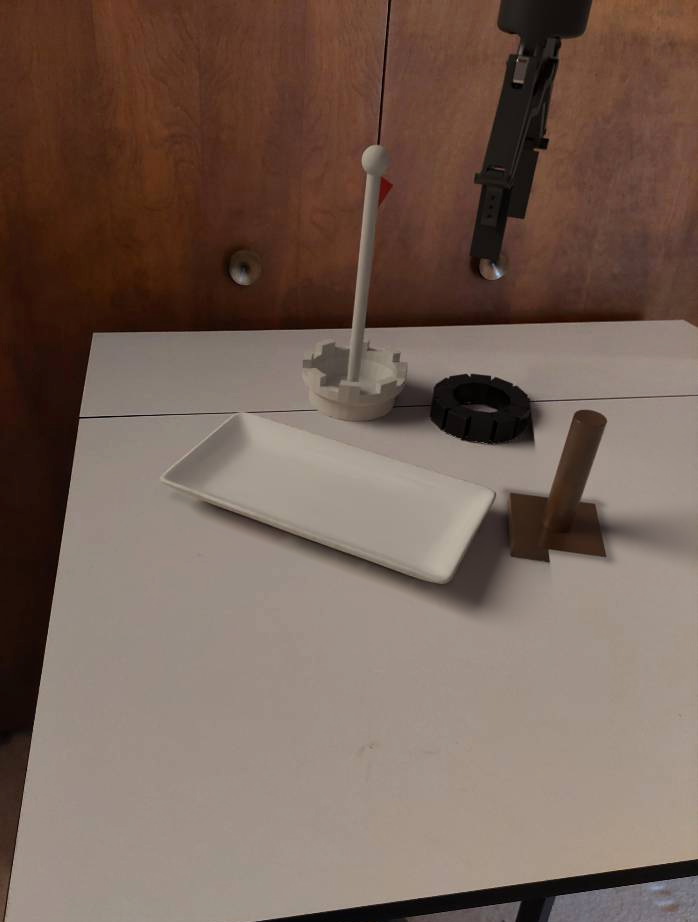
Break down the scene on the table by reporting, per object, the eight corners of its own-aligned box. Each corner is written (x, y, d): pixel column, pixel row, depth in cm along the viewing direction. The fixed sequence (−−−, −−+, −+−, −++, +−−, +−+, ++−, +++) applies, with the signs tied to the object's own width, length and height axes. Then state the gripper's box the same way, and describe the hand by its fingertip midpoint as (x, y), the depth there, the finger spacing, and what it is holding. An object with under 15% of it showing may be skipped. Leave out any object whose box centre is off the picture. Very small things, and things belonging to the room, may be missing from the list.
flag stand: (373, 436, 96) (406, 170, 77) (281, 404, 101) (291, 146, 82) (418, 393, 105) (459, 144, 85) (332, 365, 110) (352, 123, 90)
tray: (238, 431, 95) (238, 405, 93) (494, 514, 85) (501, 487, 83) (156, 505, 84) (154, 478, 81) (441, 611, 73) (448, 584, 71)
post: (591, 514, 86) (632, 399, 77) (602, 569, 79) (649, 450, 70) (506, 503, 87) (537, 388, 78) (510, 556, 80) (544, 437, 71)
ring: (522, 400, 104) (527, 379, 102) (527, 449, 95) (533, 427, 93) (431, 389, 105) (435, 369, 104) (428, 436, 96) (432, 415, 95)
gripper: (531, -35, 77) (487, 196, 90) (472, -14, 59) (429, 270, 72) (611, -28, 75) (555, 207, 88) (576, -5, 57) (512, 286, 70)
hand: (498, 236), depth 80 cm, fingers open, 13 cm apart
